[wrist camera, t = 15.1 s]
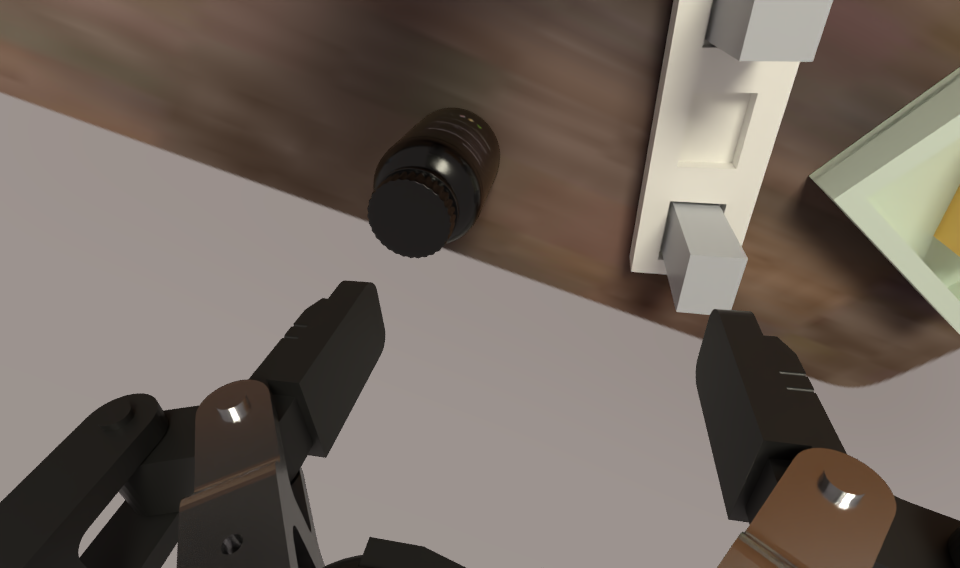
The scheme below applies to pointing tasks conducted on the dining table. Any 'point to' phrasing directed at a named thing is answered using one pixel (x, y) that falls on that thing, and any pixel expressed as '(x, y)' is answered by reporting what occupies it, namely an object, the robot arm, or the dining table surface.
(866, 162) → the sage tray
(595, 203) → the dining table surface
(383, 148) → the dining table surface
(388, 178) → the supplement bottle
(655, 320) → the dining table surface
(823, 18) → the block
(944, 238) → the block
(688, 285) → the block
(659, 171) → the block
